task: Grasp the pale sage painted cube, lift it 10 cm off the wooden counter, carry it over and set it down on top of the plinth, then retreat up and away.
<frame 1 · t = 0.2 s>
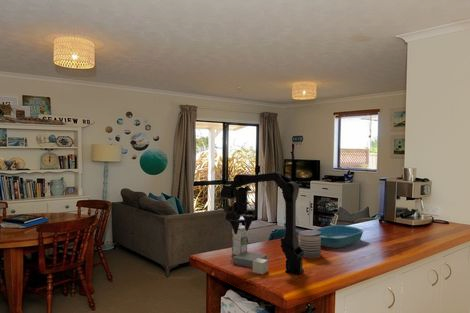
hand: (241, 232, 171), 14 cm above the worktop, fingers open, 9 cm apart
cube: (260, 271, 158), on the worktop
syrup box: (239, 254, 184), on the worktop
casserole dish: (336, 242, 211), on the worktop
can: (309, 255, 184), on the worktop
plinth: (250, 262, 171), on the worktop
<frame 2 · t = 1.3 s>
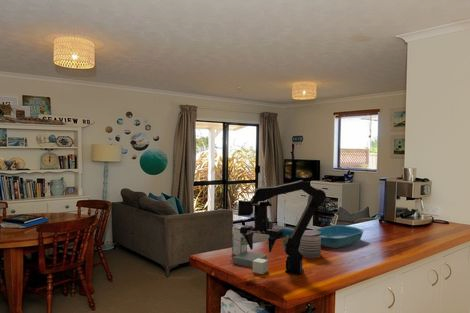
hand: (260, 250, 158), 9 cm above the worktop, fingers open, 9 cm apart
nothing on the worktop moved.
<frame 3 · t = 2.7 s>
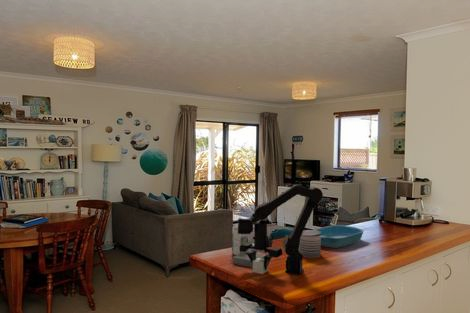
hand: (260, 269, 158), 1 cm above the worktop, fingers closed on cube, 5 cm apart
cube: (260, 271, 158), on the worktop, touching gripper
everything else where it was.
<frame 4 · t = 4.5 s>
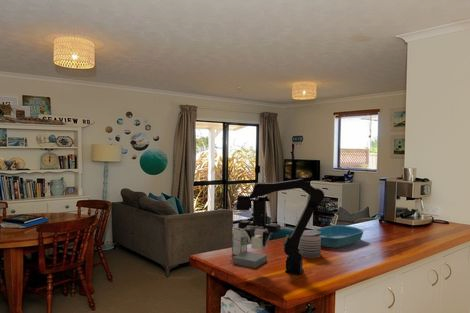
hand: (258, 245, 159), 11 cm above the worktop, fingers closed on cube, 5 cm apart
cube: (258, 247, 159), point 10 cm above the worktop, touching gripper
everything else where it was.
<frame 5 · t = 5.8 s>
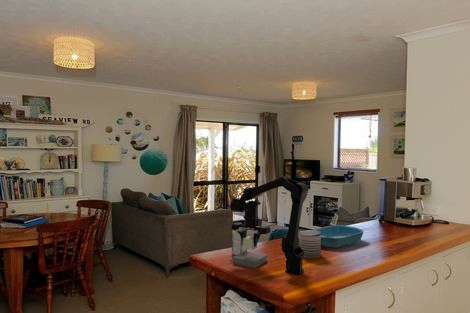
hand: (250, 246, 170), 8 cm above the worktop, fingers closed on cube, 5 cm apart
cube: (250, 248, 170), point 7 cm above the worktop, touching gripper
everything else where it was.
when the fingers open (5 cm above the worktop, at t = 6.7 s): cube stays where it is, resting on plinth.
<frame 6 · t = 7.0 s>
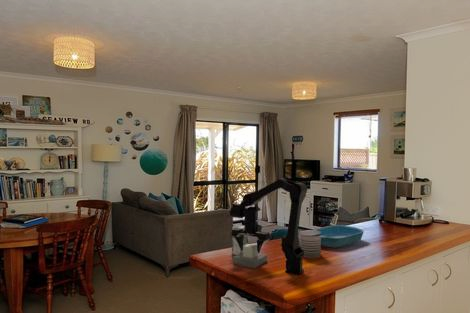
hand: (250, 251, 170), 5 cm above the worktop, fingers open, 9 cm apart
cube: (250, 256, 170), point 3 cm above the worktop, touching plinth
everything else where it was.
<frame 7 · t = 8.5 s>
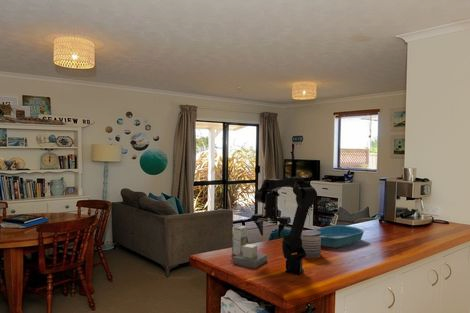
hand: (270, 236, 173), 12 cm above the worktop, fingers open, 9 cm apart
nothing on the worktop moved.
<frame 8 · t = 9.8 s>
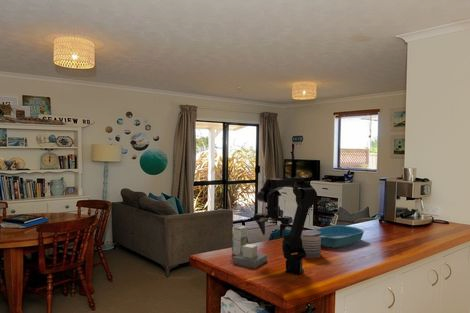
hand: (272, 236, 173), 12 cm above the worktop, fingers open, 9 cm apart
nothing on the worktop moved.
at the end: cube inside the target area on the plinth (0.1 cm from its centre), point 3.0 cm above the plinth's base; cube tilted 0°; the gripper is holding nothing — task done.
